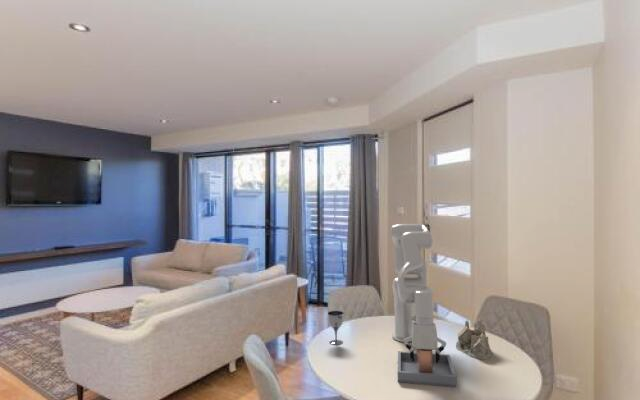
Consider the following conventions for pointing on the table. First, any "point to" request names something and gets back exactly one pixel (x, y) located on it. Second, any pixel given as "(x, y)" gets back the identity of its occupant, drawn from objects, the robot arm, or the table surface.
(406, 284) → the robot arm
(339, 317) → the wine glass
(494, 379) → the table surface
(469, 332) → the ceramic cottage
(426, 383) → the tray
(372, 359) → the table surface
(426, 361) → the cup
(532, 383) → the table surface
